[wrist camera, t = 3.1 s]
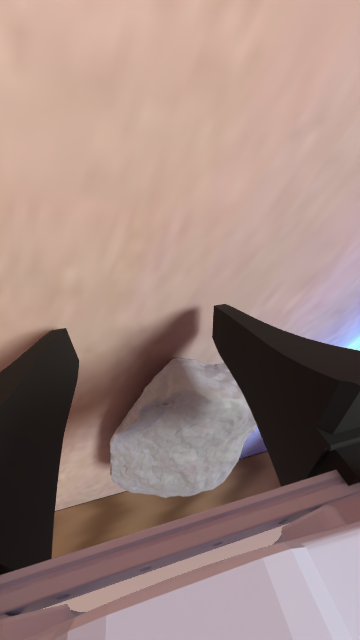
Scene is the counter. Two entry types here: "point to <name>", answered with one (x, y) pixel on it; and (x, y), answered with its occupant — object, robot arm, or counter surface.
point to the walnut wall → (154, 507)
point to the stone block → (182, 431)
